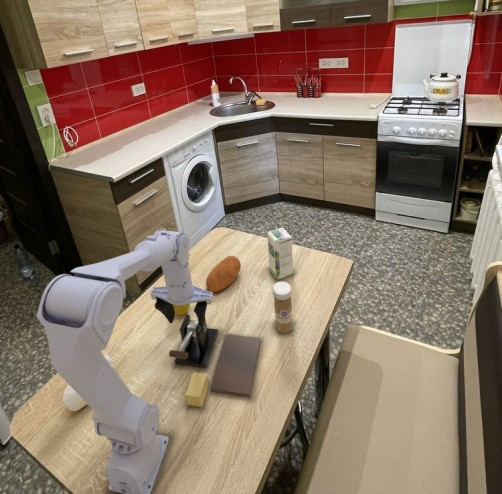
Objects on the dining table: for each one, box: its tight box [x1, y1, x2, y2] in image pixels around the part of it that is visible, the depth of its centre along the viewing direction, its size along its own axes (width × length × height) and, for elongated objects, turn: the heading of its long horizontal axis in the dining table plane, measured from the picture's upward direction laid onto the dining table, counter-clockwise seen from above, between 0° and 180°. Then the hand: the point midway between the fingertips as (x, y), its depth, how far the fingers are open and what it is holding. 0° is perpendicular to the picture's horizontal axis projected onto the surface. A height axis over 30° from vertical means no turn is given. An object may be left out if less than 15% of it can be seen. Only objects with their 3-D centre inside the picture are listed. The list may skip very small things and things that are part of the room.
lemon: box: [173, 303, 191, 316], centre depth 96 cm, size 6×6×8 cm
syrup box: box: [266, 227, 294, 281], centre depth 106 cm, size 6×6×14 cm
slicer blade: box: [168, 319, 198, 359], centre depth 80 cm, size 11×4×2 cm, turn 169°
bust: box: [61, 355, 115, 412], centre depth 78 cm, size 12×8×11 cm
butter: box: [185, 372, 210, 408], centre depth 76 cm, size 5×3×4 cm, turn 169°
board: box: [209, 333, 261, 398], centre depth 82 cm, size 14×9×1 cm, turn 169°
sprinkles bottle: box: [272, 281, 293, 334], centre depth 88 cm, size 5×5×14 cm
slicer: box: [174, 314, 219, 369], centre depth 85 cm, size 10×8×9 cm
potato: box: [205, 255, 242, 293], centre depth 106 cm, size 7×13×7 cm, turn 137°
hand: (187, 321), depth 83 cm, fingers open, 7 cm apart
